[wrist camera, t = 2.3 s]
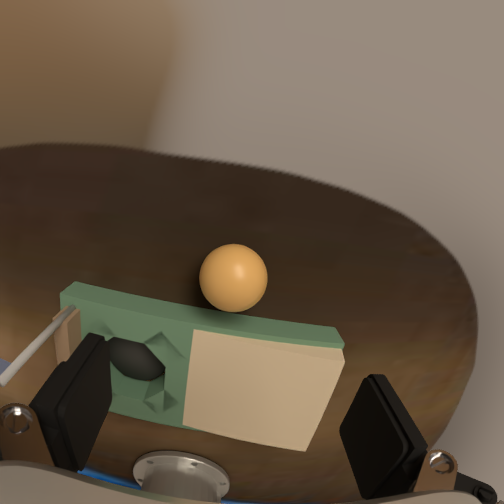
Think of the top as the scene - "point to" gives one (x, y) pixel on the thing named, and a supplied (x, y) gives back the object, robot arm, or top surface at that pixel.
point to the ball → (233, 278)
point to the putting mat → (202, 365)
